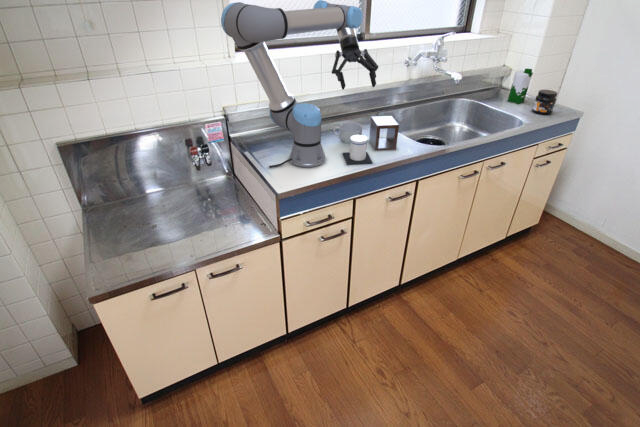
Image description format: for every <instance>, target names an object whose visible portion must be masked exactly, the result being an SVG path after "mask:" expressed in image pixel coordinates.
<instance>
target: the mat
mask: <svg viewBox="0 0 640 427" xmlns="http://www.w3.org/2000/svg"><path fill="white" fill-rule="evenodd" d="M342 155H343V159H344V161H345V163H346V165H347V166H354V165H357V166H358V165H372V164H373V161H372V159H371V157H370V155H369V153H368V151H366V158H365V159H364V160H361V161H356V160H352V159H350V151H349V152H342Z"/></svg>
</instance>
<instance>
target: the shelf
mask: <svg viewBox="0 0 640 427" xmlns="http://www.w3.org/2000/svg"><path fill="white" fill-rule="evenodd" d="M399 128H400V124H399V123H398V122H397V121H396V119H395V118H394V116H392V115H379V116H376V115H375V116H370V125H369V137H368V138H369V139H368V141H369V143H370V144H371V146H372V148H373V150H374V151H375V152H376V151H396V150H397V144H398V136H399ZM384 129H385V130H386V137H380V136H381V130H384Z"/></svg>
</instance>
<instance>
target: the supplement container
mask: <svg viewBox="0 0 640 427" xmlns="http://www.w3.org/2000/svg"><path fill="white" fill-rule="evenodd" d="M535 96H536V97H535V100H534V102H533V106H532V109H531V110H532V112H533V113H534V114H536V115H540V116H549V115H551V114H552V113H553V110H554V108H555V104H556V101H557V96H558V91H555V90H553V89H552V90H551V89H540V90H538V93H537V95H535Z"/></svg>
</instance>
